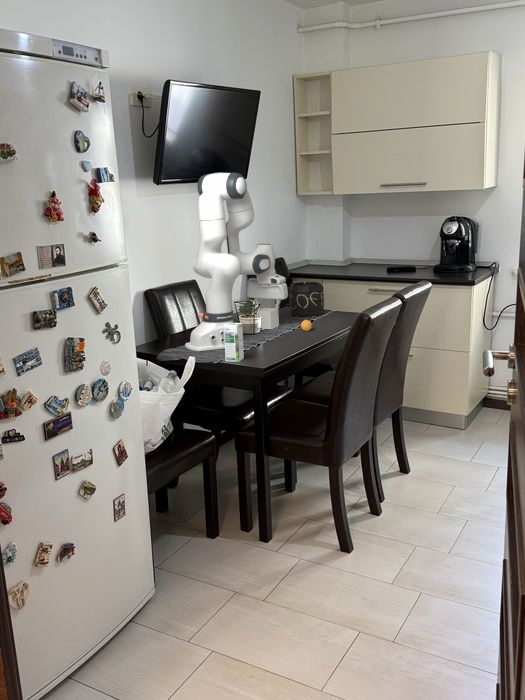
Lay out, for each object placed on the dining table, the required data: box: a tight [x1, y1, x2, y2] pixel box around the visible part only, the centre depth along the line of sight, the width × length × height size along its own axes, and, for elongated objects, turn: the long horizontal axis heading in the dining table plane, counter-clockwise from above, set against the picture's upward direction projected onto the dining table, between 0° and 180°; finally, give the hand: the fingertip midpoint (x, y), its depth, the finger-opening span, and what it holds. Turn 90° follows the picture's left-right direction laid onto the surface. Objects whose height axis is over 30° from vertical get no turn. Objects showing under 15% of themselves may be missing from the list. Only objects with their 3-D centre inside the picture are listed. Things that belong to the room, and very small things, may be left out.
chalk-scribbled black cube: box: [288, 281, 325, 318], centre depth 343 cm, size 18×18×16 cm
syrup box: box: [224, 322, 245, 363], centre depth 262 cm, size 6×6×14 cm
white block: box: [256, 308, 280, 330], centre depth 317 cm, size 7×7×9 cm
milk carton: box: [259, 298, 276, 309], centre depth 335 cm, size 7×7×19 cm
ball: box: [300, 319, 313, 332], centre depth 308 cm, size 5×5×5 cm
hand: (268, 307), depth 316 cm, fingers open, 8 cm apart
